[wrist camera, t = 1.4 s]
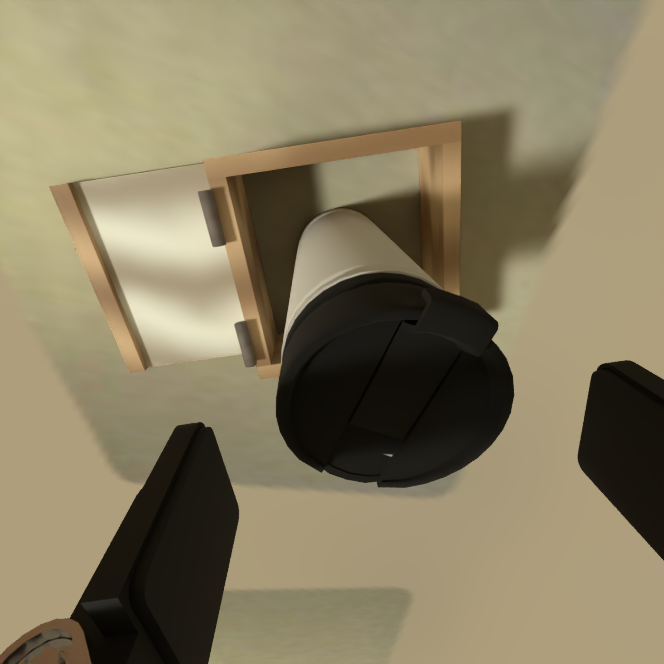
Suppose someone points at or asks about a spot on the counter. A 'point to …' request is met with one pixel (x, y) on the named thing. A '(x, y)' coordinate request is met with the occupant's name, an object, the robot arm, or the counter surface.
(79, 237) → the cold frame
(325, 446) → the travel mug
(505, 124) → the counter surface
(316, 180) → the counter surface
